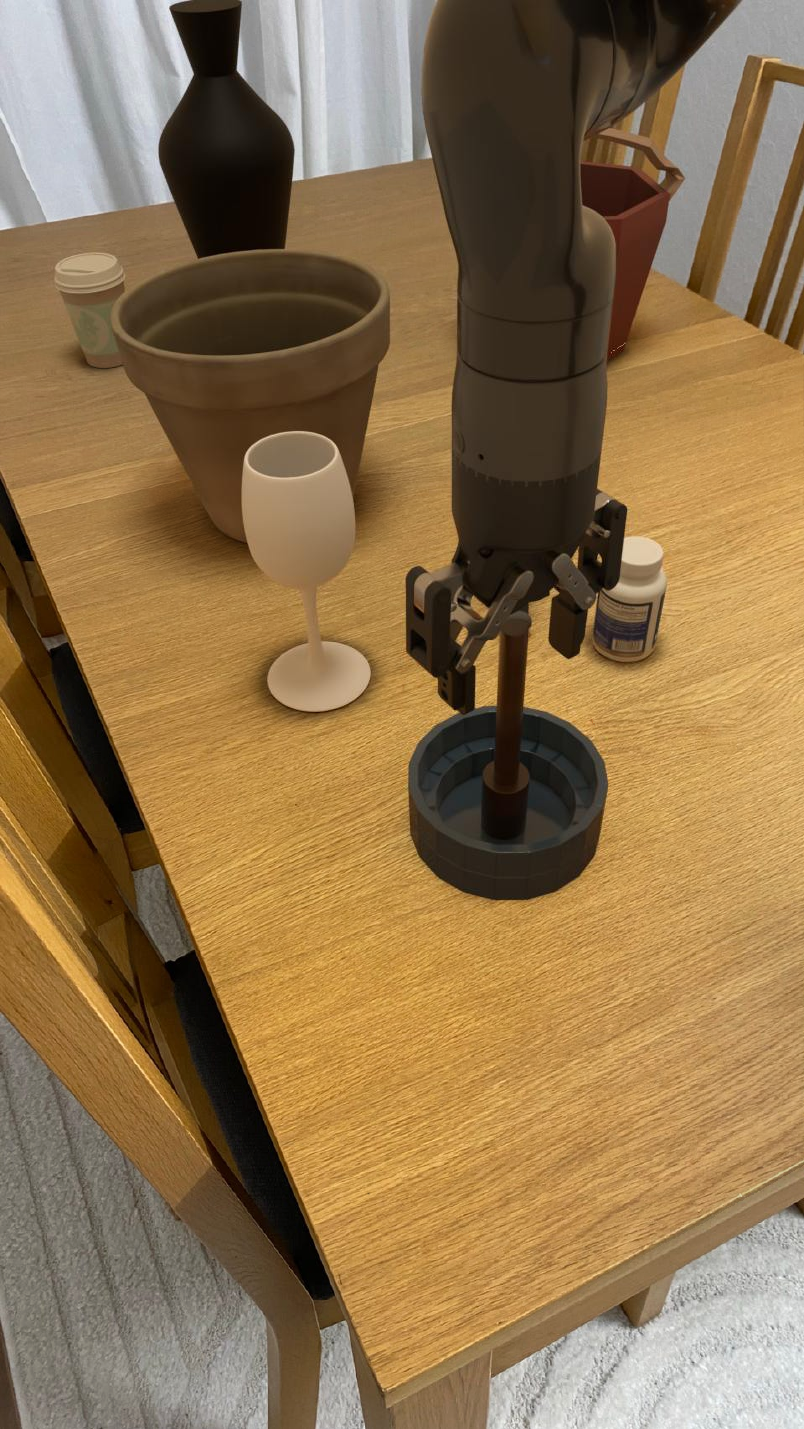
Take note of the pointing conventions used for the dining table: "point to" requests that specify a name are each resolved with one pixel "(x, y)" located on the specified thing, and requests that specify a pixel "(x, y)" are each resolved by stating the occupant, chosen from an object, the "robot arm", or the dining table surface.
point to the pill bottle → (632, 603)
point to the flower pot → (254, 359)
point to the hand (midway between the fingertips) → (512, 677)
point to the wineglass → (304, 557)
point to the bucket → (629, 221)
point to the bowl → (556, 809)
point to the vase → (225, 142)
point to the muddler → (508, 740)
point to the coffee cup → (92, 302)
